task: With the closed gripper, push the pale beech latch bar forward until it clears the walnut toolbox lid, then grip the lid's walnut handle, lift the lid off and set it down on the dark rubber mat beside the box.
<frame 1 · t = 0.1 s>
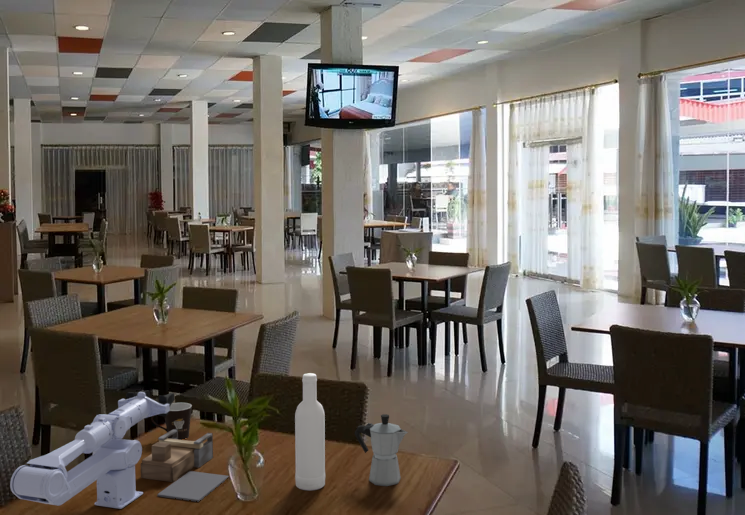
hand: (161, 395, 201), 22 cm above the table, tool horizontal, fingers open, 7 cm apart
lid mat: (194, 486, 192), on the table
toolbox lid: (170, 456, 203), point 4 cm above the table, touching toolbox
toolbox: (171, 470, 203), on the table
latch bar: (181, 443, 208), point 6 cm above the table, slide at 0.0 cm
coffee maker: (380, 479, 198), on the table
bottle: (310, 485, 194), on the table
coffee mug: (173, 437, 230), on the table
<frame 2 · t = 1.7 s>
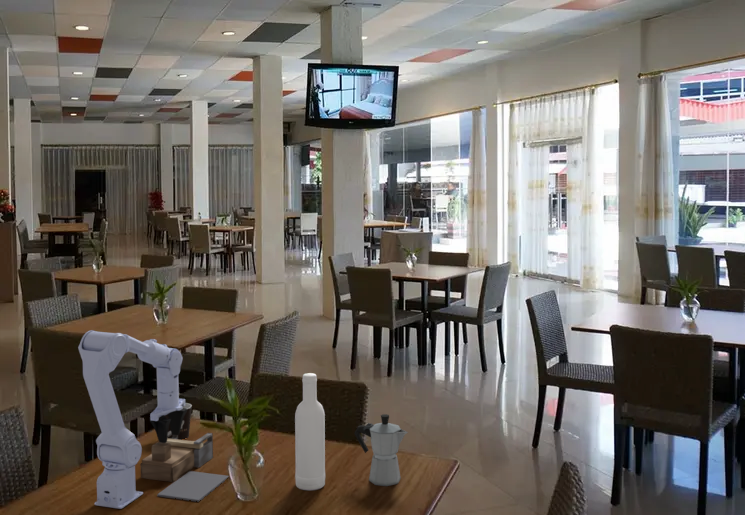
hand: (169, 438, 202), 9 cm above the table, tool pointing down, fingers open, 6 cm apart
nothing on the table moved.
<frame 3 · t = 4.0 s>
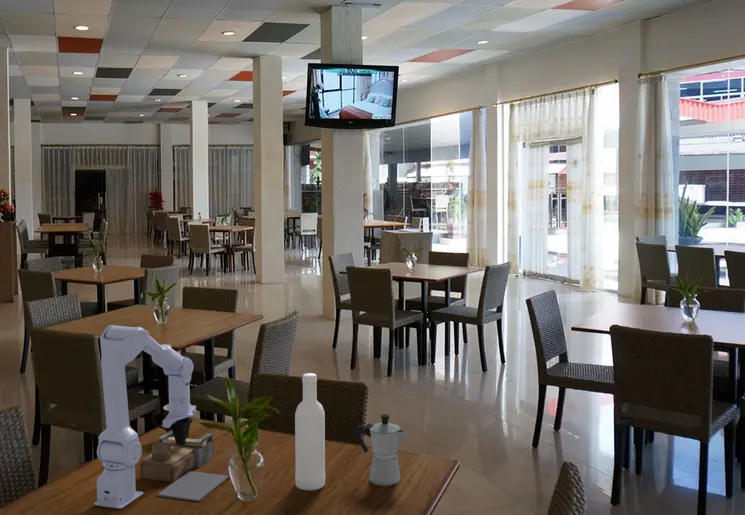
hand: (180, 444, 208), 6 cm above the table, tool pointing down, fingers closed
latch bar: (184, 441, 210), point 6 cm above the table, slide at 1.6 cm, touching gripper
everything else where it was.
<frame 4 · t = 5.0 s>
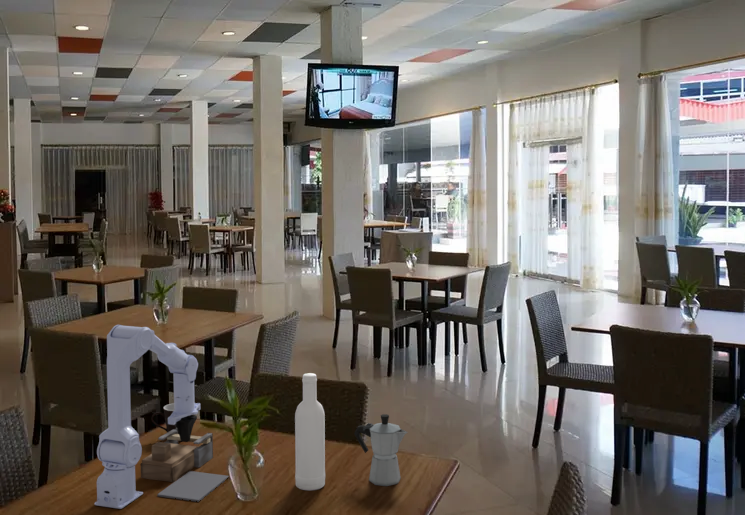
hand: (185, 441, 210), 6 cm above the table, tool pointing down, fingers closed
latch bar: (188, 438, 212), point 6 cm above the table, slide at 4.2 cm, touching gripper
everything else where it was.
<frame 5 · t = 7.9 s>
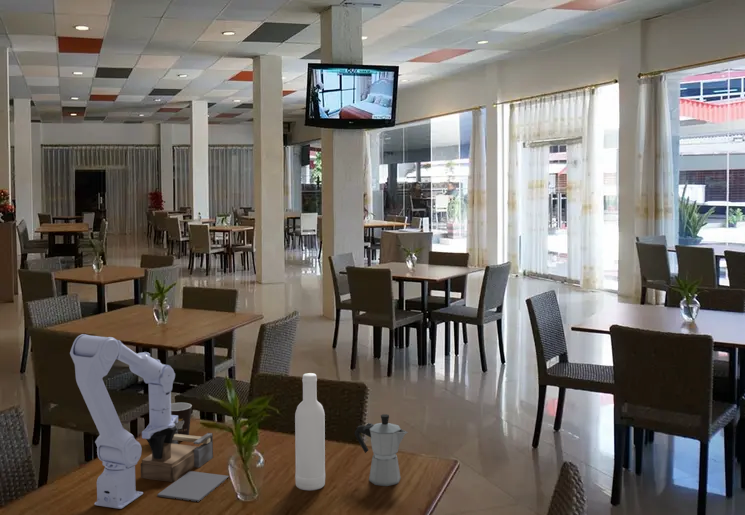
hand: (161, 455, 199), 6 cm above the table, tool pointing down, fingers closed on toolbox lid, 3 cm apart
toolbox lid: (170, 456, 203), point 4 cm above the table, touching gripper, toolbox
latch bar: (188, 438, 212), point 6 cm above the table, slide at 4.2 cm
everything else where it was.
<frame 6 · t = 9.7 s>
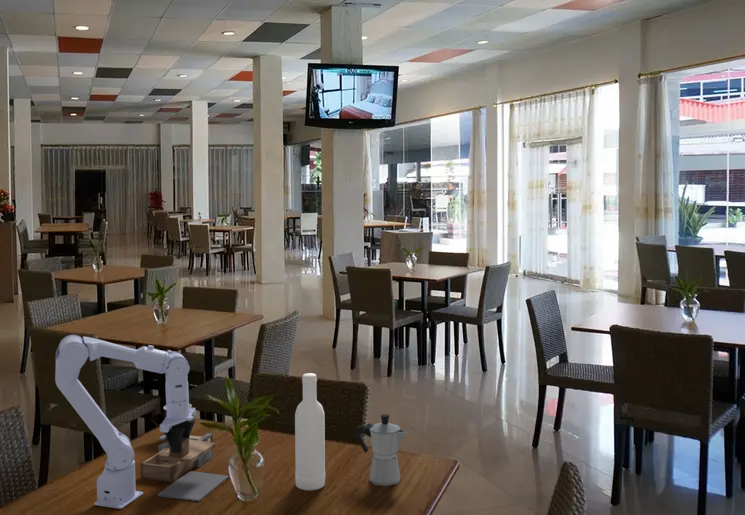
hand: (179, 450, 190), 10 cm above the table, tool pointing down, fingers closed on toolbox lid, 3 cm apart
toolbox lid: (187, 452, 195), point 8 cm above the table, touching gripper
everything else where it was.
when the fingers open (3 cm above the table, at t = 11.7 s): toolbox lid stays where it is, resting on lid mat.
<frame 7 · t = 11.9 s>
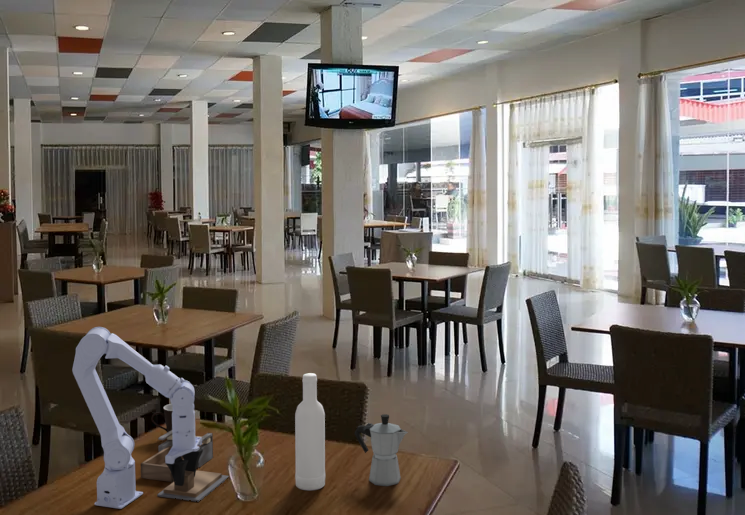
hand: (185, 480, 188), 3 cm above the table, tool pointing down, fingers open, 5 cm apart
toolbox lid: (193, 484, 192), resting on lid mat
everything else where it was.
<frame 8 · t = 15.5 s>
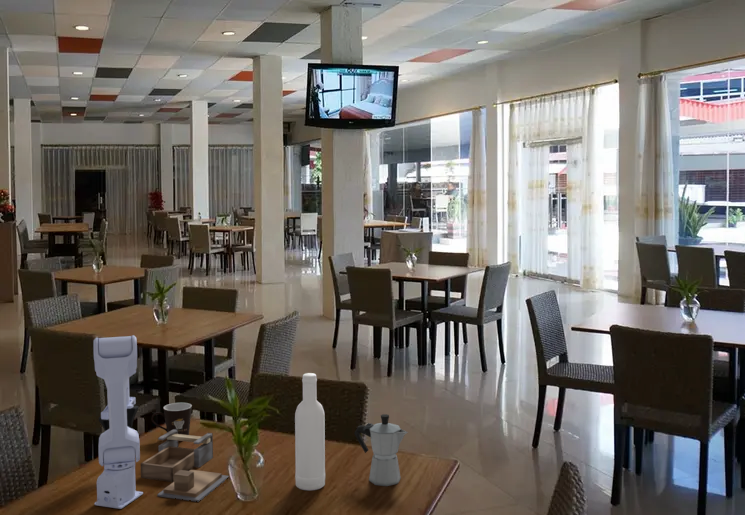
hand: (119, 437, 200), 10 cm above the table, tool pointing down, fingers open, 7 cm apart
nothing on the table moved.
at the end: latch bar slide at 4.2 cm; toolbox lid inside the target area (0.2 cm from its centre), point 0.5 cm above the table; the gripper is holding nothing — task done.
